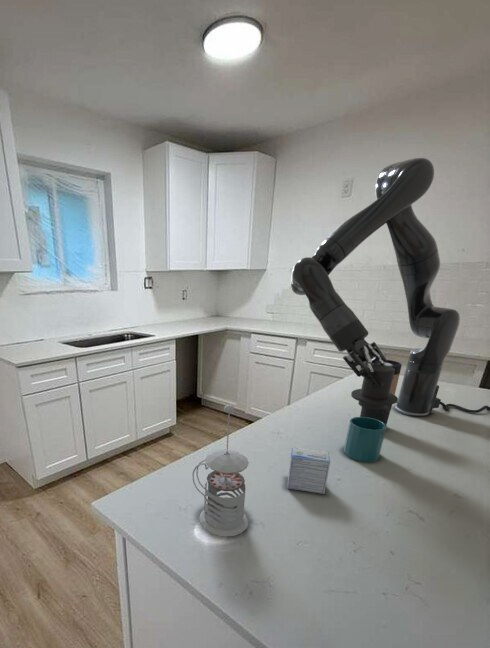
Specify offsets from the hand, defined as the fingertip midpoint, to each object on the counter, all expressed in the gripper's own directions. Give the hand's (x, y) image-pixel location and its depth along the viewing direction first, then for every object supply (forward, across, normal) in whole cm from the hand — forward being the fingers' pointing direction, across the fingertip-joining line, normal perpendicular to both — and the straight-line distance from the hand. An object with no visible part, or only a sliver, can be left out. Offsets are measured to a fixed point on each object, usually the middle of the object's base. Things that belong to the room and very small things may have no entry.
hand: (384, 384), depth 86 cm
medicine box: (+11, -24, +17) cm, 32 cm away
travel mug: (+10, +19, +19) cm, 28 cm away
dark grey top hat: (+3, 0, +5) cm, 6 cm away
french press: (+6, -47, +22) cm, 52 cm away
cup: (+13, 0, +15) cm, 20 cm away
